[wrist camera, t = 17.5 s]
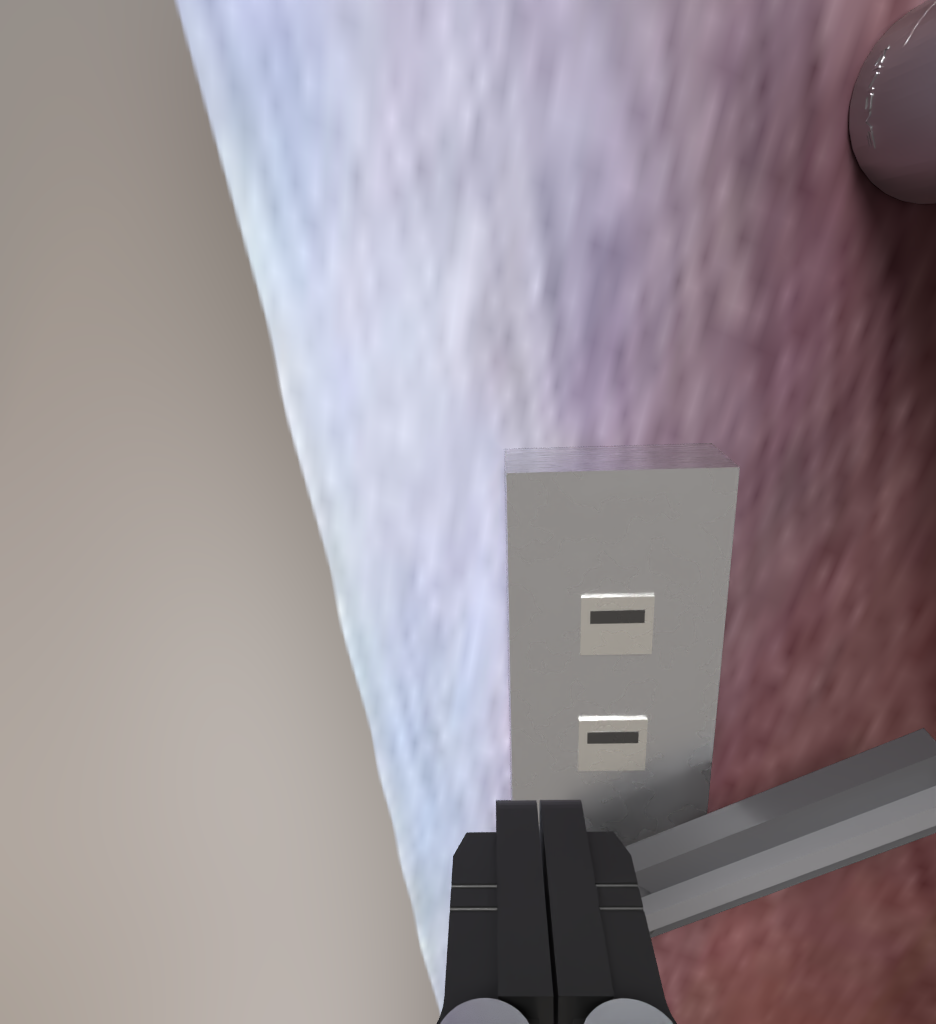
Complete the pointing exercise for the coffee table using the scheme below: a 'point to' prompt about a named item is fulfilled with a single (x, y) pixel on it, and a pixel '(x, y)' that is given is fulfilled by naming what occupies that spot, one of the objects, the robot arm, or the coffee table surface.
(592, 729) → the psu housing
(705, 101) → the coffee table surface
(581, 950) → the robot arm
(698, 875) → the bar
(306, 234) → the coffee table surface
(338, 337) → the coffee table surface
